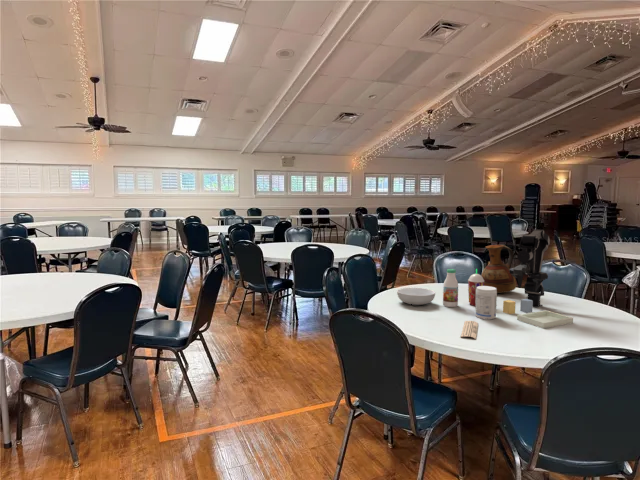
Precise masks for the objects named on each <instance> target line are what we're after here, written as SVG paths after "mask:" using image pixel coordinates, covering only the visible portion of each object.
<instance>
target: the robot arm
mask: <svg viewBox="0 0 640 480" xmlns="http://www.w3.org/2000/svg"><path fill="white" fill-rule="evenodd" d="M550 243H551V240H550V235H548V234H547V233H546V232H545V230H544V229H533V230H532V232H531V233H530V234H523V235H522V237H521V238H520V242H519V245H518V250H520V249H521V251H519V252H518V253H517V259H518V261H520V263H519V264H518V265H517V266H514V267H510V270H509V273H510V274H511V275H512V276H514V277H515V280H516V285H517V288H518V289H521V288H522V285H523V279H524V278H523V277H524V276H527V277H526V281H525V283H524V286H523V287H524V288H523V289H524V295H527V297H526V299H528V300H532V301H533V308H537V307H538V308H539V307H542V306H543V304H542V303H541V297H542V296H545V290H544V289H545V288H544V285H543V282H544V281H545V280H548V278H549V274H548V273H547V272H545V271H544V272H543V271H541V270H542V267H543V266H542V264H543V259H544V253H545V252H546V251H547V250H548V248H549V246H550Z"/></svg>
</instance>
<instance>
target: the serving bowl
mask: <svg viewBox="0 0 640 480" xmlns="http://www.w3.org/2000/svg"><path fill="white" fill-rule="evenodd" d="M396 295H397V297H398V298H399V301H401V302H403V303H405V304H408V305H411V304H412V305H411V306H423V305H427V304H430V303H432V301H434V299H435V297H436V292H435V290H432V289H428V288H423V287H404V288H400V289H397V290H396Z"/></svg>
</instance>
